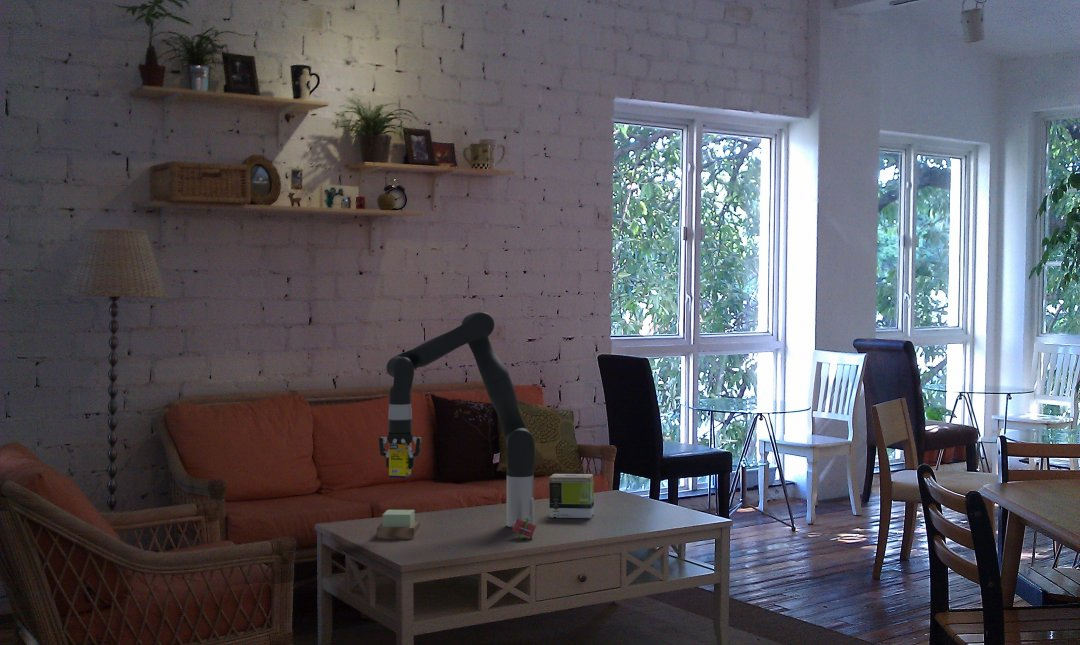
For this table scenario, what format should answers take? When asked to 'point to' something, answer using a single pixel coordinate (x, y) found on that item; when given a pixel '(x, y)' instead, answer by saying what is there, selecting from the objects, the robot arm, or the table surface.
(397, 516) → the sage top slab
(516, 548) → the table surface
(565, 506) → the tea box
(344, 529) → the table surface
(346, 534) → the table surface
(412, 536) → the walnut base slab
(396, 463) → the supplement box
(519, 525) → the geometric puzzle
